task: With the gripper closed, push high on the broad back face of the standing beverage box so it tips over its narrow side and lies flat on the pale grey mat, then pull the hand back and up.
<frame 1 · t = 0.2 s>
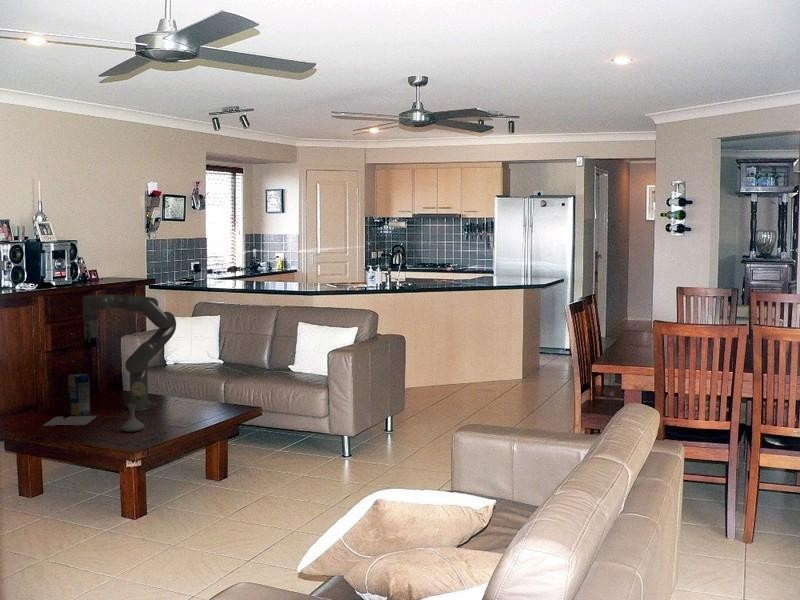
hand: (90, 347, 471), 36 cm above the table, tool pointing down, fingers open, 9 cm apart
mat: (70, 421, 449), on the table
beverage box: (79, 414, 464), on the table, touching mat
flower in vase: (134, 430, 427), on the table
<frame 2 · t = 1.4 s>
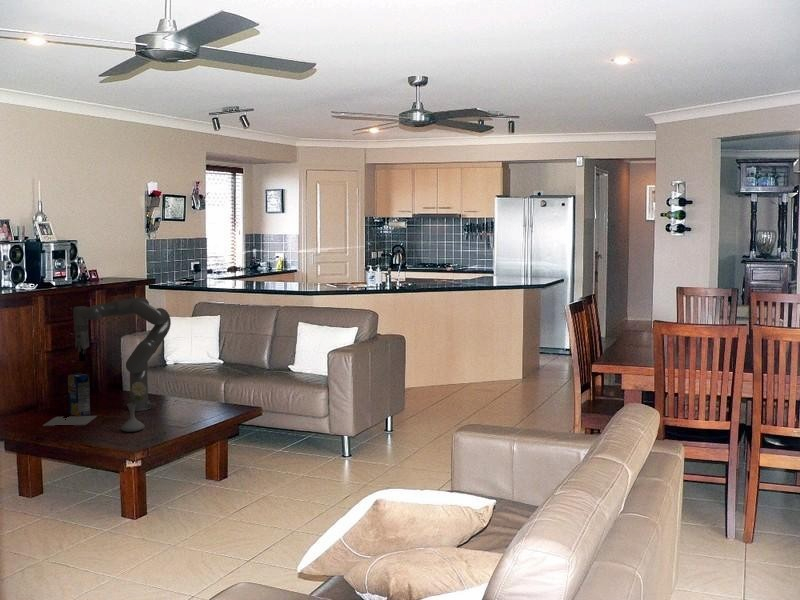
hand: (82, 360, 471), 29 cm above the table, tool pointing down, fingers closed
nothing on the table moved.
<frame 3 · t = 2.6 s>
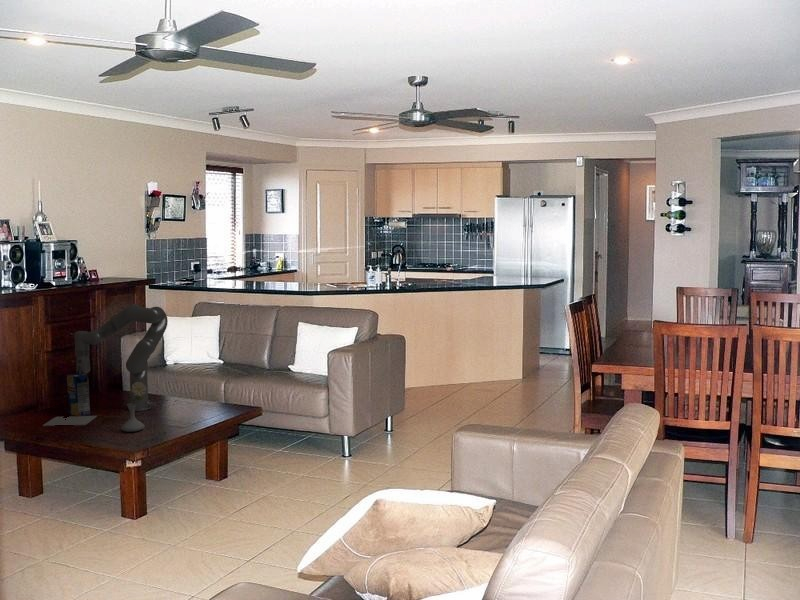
hand: (83, 385, 472), 15 cm above the table, tool pointing down, fingers closed
nothing on the table moved.
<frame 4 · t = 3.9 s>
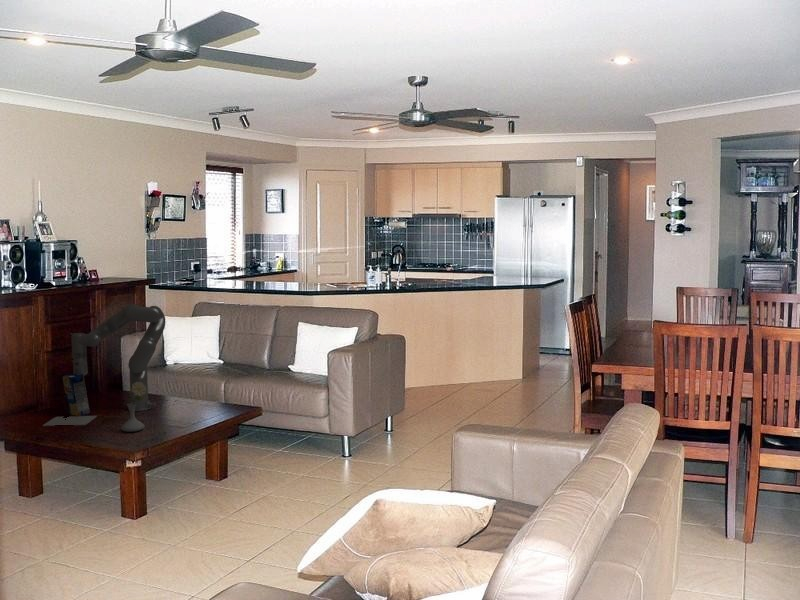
hand: (81, 388, 467), 14 cm above the table, tool pointing down, fingers closed
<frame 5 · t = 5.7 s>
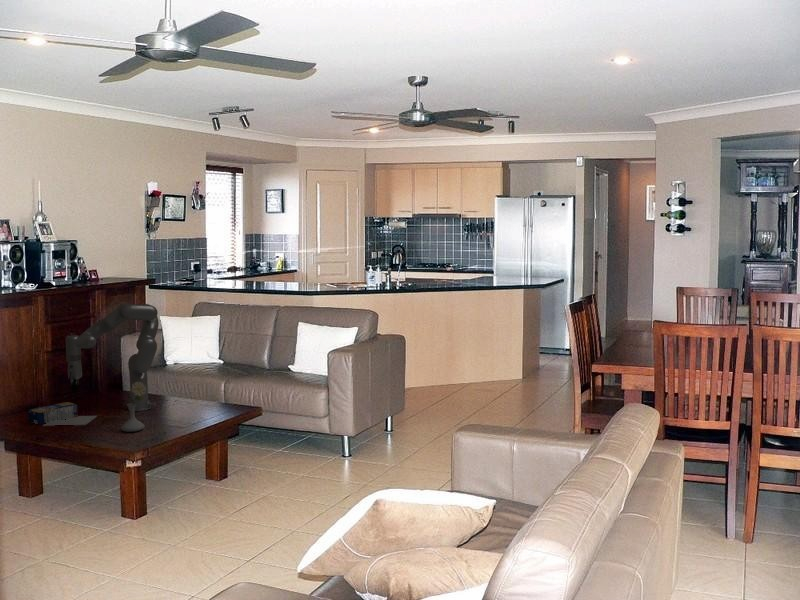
hand: (75, 391, 458), 14 cm above the table, tool pointing down, fingers closed
beverage box: (73, 409, 461), point 4 cm above the table, touching mat
everything else where it was.
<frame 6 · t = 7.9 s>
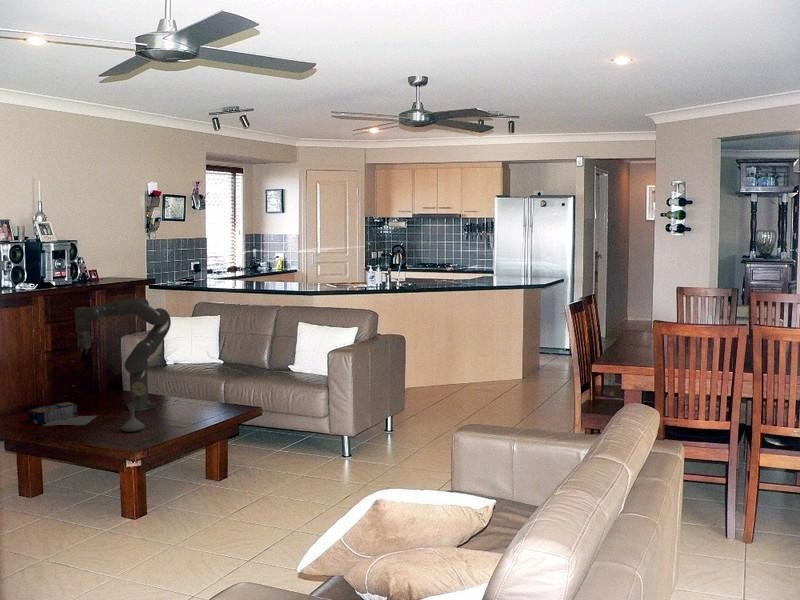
hand: (85, 361, 473), 28 cm above the table, tool pointing down, fingers closed
nothing on the table moved.
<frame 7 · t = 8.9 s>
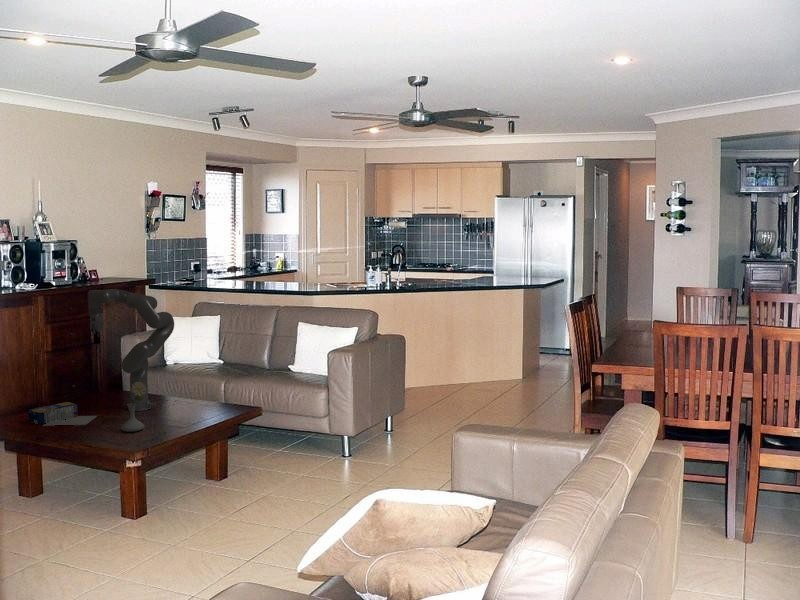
hand: (97, 343, 478), 37 cm above the table, tool pointing down, fingers closed
nothing on the table moved.
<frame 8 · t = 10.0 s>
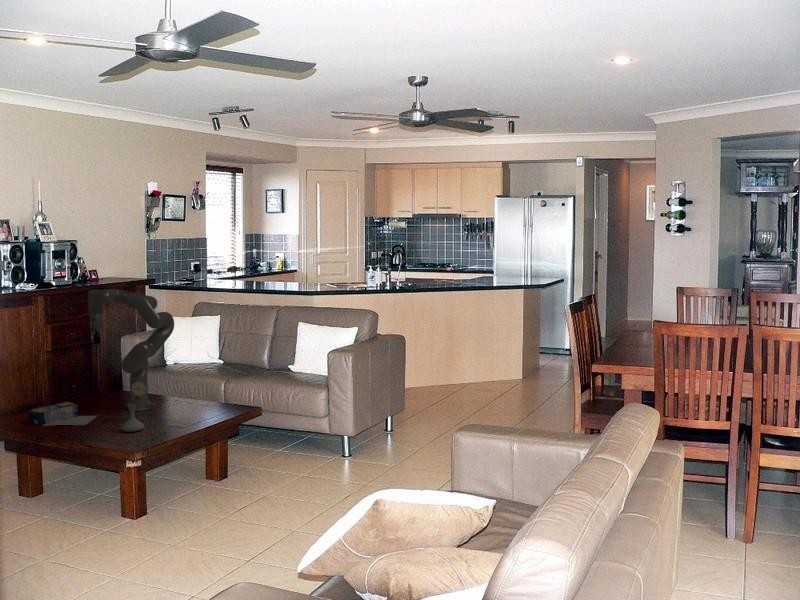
hand: (97, 343, 478), 37 cm above the table, tool pointing down, fingers closed
nothing on the table moved.
at the end: beverage box tilted 91°; beverage box inside the target area (5.8 cm from its centre), point 3.8 cm above the table; beverage box touching mat, table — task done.
